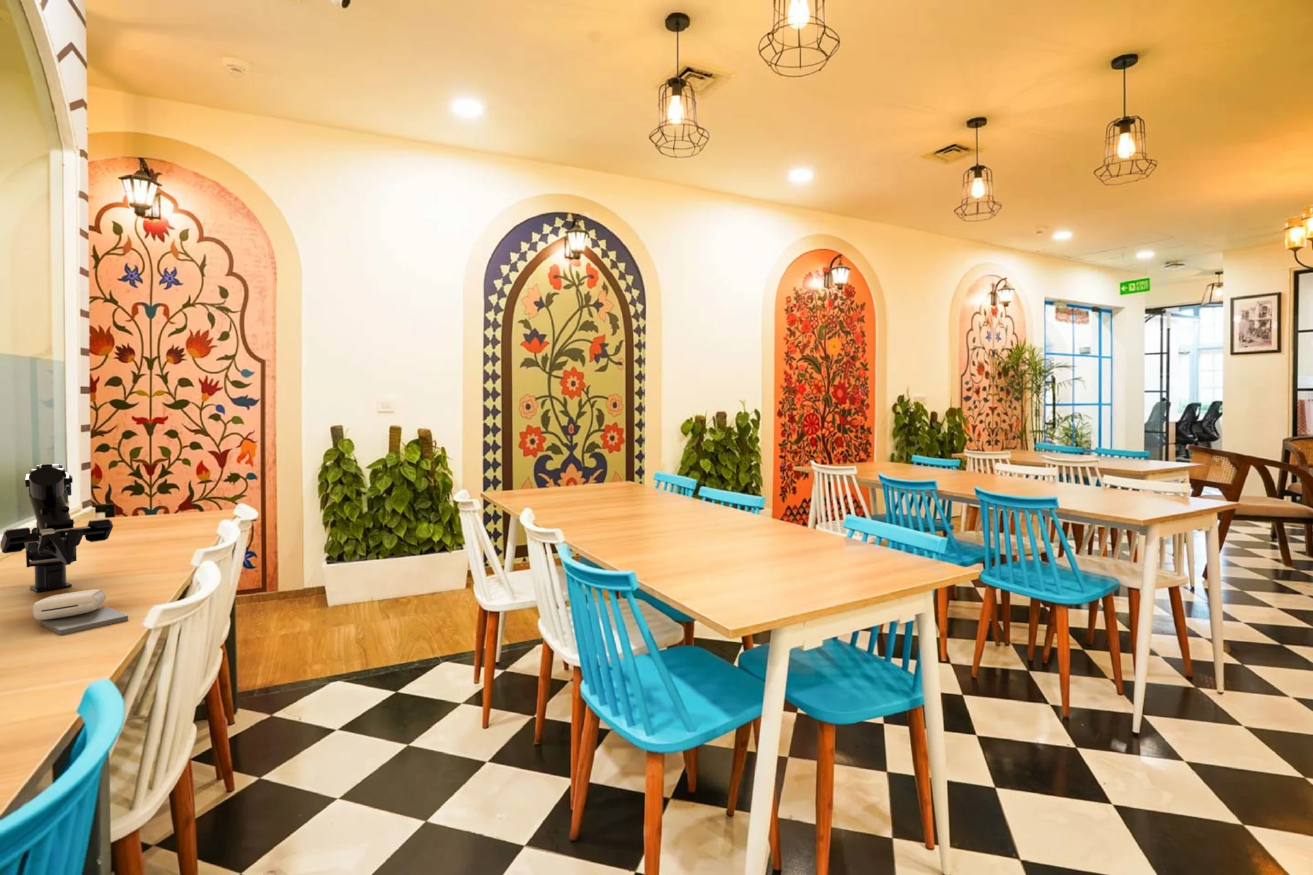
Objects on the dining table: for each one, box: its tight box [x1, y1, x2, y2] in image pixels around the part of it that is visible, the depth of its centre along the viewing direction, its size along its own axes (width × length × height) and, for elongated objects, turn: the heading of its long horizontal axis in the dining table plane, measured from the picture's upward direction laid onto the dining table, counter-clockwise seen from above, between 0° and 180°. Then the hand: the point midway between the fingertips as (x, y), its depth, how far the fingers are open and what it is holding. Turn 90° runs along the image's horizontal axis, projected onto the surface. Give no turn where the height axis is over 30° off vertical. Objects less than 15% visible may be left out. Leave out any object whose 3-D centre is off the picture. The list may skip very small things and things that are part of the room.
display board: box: [41, 606, 129, 636], centre depth 133 cm, size 11×11×1 cm
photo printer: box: [32, 588, 107, 621], centre depth 136 cm, size 10×4×12 cm
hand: (68, 563), depth 145 cm, fingers closed
